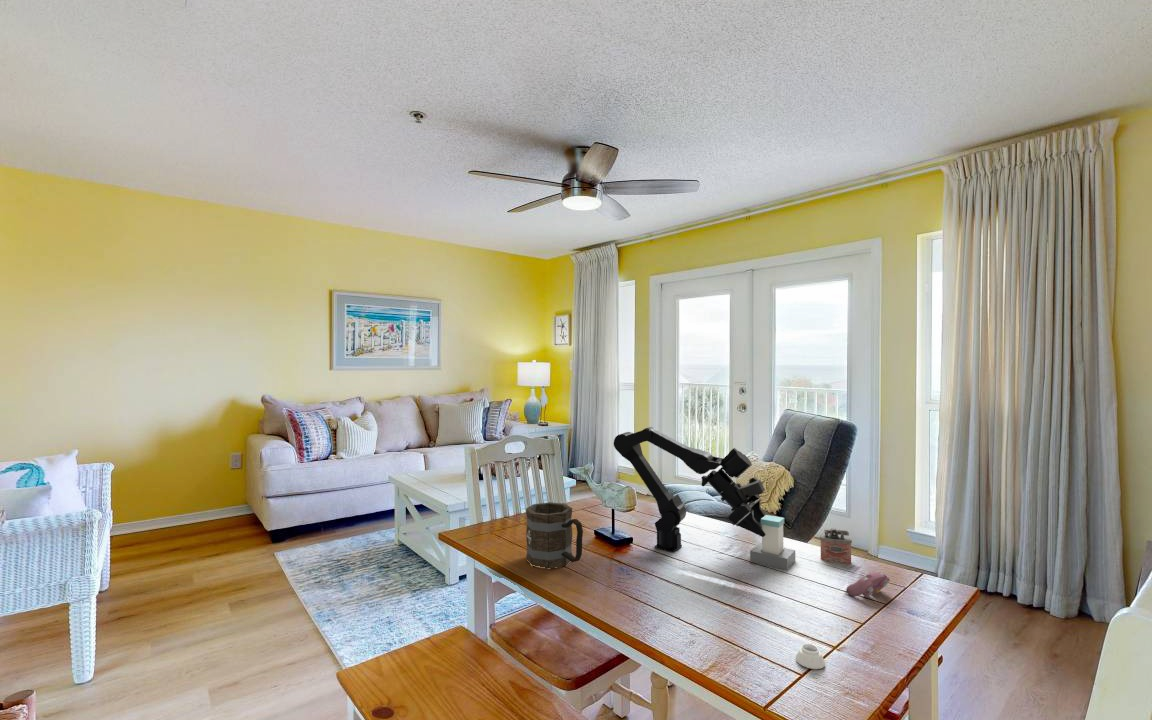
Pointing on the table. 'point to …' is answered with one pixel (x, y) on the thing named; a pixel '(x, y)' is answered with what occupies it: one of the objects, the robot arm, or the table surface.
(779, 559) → the grey hollow block
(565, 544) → the mug
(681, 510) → the robot arm
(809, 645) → the white jar
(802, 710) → the table surface
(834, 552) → the lighter
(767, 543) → the plug
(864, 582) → the video game controller
